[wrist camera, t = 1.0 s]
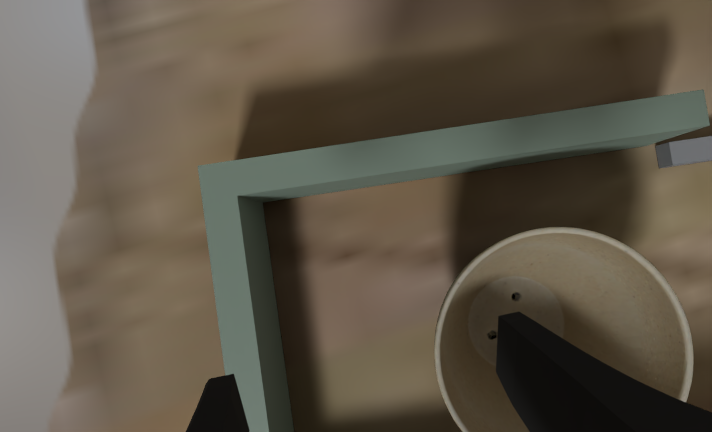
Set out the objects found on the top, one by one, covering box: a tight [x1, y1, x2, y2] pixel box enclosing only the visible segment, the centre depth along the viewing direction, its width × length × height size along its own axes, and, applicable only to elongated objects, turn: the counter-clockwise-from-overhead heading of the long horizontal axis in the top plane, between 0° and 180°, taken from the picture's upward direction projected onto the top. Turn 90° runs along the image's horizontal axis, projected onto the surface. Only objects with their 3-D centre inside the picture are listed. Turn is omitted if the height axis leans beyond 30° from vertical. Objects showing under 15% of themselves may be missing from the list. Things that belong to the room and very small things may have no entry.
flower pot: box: [434, 227, 694, 432], centre depth 23 cm, size 10×10×7 cm
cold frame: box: [198, 90, 710, 432], centre depth 24 cm, size 20×23×5 cm
